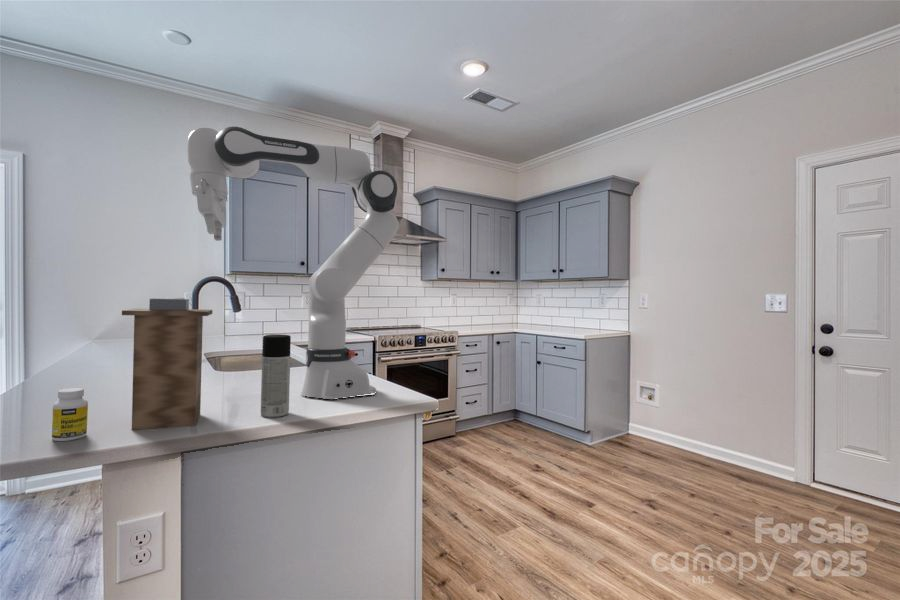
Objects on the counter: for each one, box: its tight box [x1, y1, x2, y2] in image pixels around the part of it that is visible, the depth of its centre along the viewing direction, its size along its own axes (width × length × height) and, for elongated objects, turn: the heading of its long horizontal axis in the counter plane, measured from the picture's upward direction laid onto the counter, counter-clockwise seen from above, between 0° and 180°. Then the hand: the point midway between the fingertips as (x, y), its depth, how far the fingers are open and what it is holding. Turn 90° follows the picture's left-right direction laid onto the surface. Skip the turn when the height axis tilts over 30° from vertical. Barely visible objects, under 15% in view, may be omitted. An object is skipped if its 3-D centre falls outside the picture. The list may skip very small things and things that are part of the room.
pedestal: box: [121, 308, 213, 431], centre depth 101 cm, size 16×11×26 cm
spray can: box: [260, 334, 292, 419], centre depth 110 cm, size 7×7×20 cm
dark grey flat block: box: [148, 297, 190, 311], centre depth 106 cm, size 7×18×3 cm, turn 23°
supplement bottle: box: [51, 387, 89, 442], centre depth 89 cm, size 5×5×10 cm
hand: (215, 237), depth 121 cm, fingers open, 8 cm apart
